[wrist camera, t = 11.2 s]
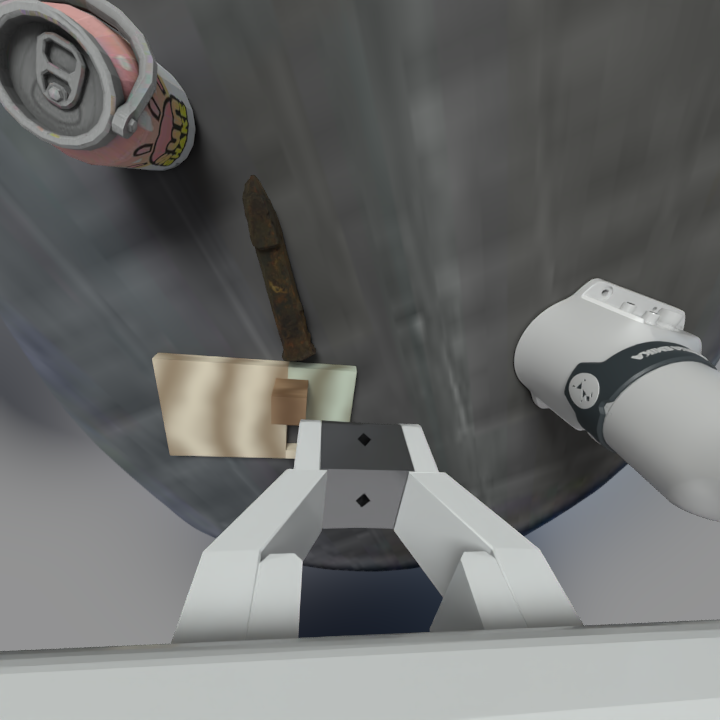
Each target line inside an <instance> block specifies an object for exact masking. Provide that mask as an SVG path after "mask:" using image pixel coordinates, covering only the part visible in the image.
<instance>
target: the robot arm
mask: <svg viewBox="0 0 720 720" xmlns="http://www.w3.org/2000/svg"><path fill="white" fill-rule="evenodd" d="M603 291H604V292H603ZM602 292H603V293H602ZM684 323H685V313H684V311H682V310H680V309H678V308H676V307H673V306H671V305H668V304H666V303H663V302H660V301H658V300H655V299H652V298H650V297H647V296H644V295H642V294H639V293H636V292H634V291H631V290H628V289H626V288H623V287H620V286H618V285H615V284H612V283H610V282H607V281H605V280H602V279H598V278H596V279H592V280H590V281H589V282H587V283H586V284H585V285H584V286H582V287H581V288H580V289H579V290H578V291H577V292H576V293H575V294H574V295H572V296H571V297H569V298H567V299H565V300H563V301H561V302H559V303H556V304H555V305H553V306H551V307H549V308H548V309H546V310H545V311H544V312H542V313H541V314H540V315H539V316H538V317H536V318H535V319H534V320H533V321H532V323H531V324H530V325H529V326H528V327H527V329H526V330H525V331H524V333H523V335H522V336H521V338H520V340H519V342H518V345H517V348H516V351H515V357H514V367H515V371H516V374H517V376H518V378H519V380H520V381H521V382H522V383H523V384H524V385H525V386H526V387H527V388H528V389H529V390H530V392H531V395H532V399H533V401H534V403H535V404H536V405H537V406H538V407H540V408H543V409H545V408H550V409H551V410H552V411H554V412H555V413H556V414H557V415H558V416H560V417H561V418H562V419H563V420H565V421H566V422H567V423H568V424H570V425H571V426H572V427H574V428H575V429H577V430H580V431H582V430H586V431H587V433H588V434H589V435H590V436H591V437H592V438H593V439H594V440H595V441H596V442H598V443H599V444H601V445H602V446H603V447H605V448H606V449H607V450H609V451H611V452H613V453H616V454H618V455H620V456H621V457H622V458H623V459H624V460H625V461H626V462H627V463H628V464H629V465H631V466H632V467H633V468H634V469H635V470H636V471H637V472H638V473H639V474H640V475H642V477H643V478H645V479H646V480H647V481H648V482H649V483H650V484H651V485H652V486H653V487H654V488H655V489H656V490H658V491H659V492H660V493H661V494H662V495H663V496H664V497H665V498H666V499H667V500H669V501H670V502H671V503H672V504H673V505H675V506H677V507H679V508H680V509H682V510H684V511H687V512H689V513H691V514H694V515H697V516H699V517H702V518H706V519H709V520H713V521H718V522H720V371H718V370H717V369H716V367H715V366H714V365H713V364H712V363H710V362H709V361H707V359H706V358H705V357H704V356H702V355H701V350H702V344H701V340H700V339H699V338H698V337H697V336H695V335H692V334H690V333H687V332H685V331H683V328H684ZM326 528H391V529H394V531H395V533H396V534H397V535H398V537H399V538H400V539H401V541H402V542H403V544H404V545H405V546H406V548H407V549H408V550H409V552H410V553H411V554H412V556H413V557H414V558H415V560H416V561H417V563H418V564H419V565H420V567H421V568H422V569H423V571H424V572H425V573H426V575H427V576H428V577H429V579H430V580H431V582H432V583H433V584H434V586H435V587H436V588H437V589H438V591H439V592H440V594H441V595H442V596H443V600H442V602H441V605H440V607H439V609H438V611H437V614H436V616H435V618H434V621H433V623H432V625H431V627H430V632H423V633H401V634H379V635H357V636H335V637H313V638H298V630H299V612H300V596H301V578H302V562H303V560H304V559H305V557H306V555H307V554H308V552H309V551H310V549H311V547H312V546H313V544H314V542H315V541H316V539H317V537H318V536H319V534H320V533H321V530H322V529H326ZM0 720H720V620H699V621H677V622H656V623H634V624H633V623H632V624H611V625H610V624H609V625H585V626H584V625H583V623H582V621H581V620H580V618H579V616H578V615H577V613H576V611H575V610H574V608H573V606H572V604H571V602H570V601H569V599H568V598H567V596H566V594H565V592H564V590H563V589H562V587H561V585H560V584H559V582H558V580H557V578H556V577H555V575H554V573H553V572H552V570H551V568H550V566H549V565H548V563H547V561H546V559H545V558H544V556H543V554H542V553H541V551H540V549H538V548H537V547H536V546H535V545H533V544H532V543H531V542H530V541H529V540H527V539H526V538H525V537H524V536H523V535H521V534H520V533H519V532H518V531H516V530H515V529H514V528H513V527H511V526H510V525H509V524H508V523H507V522H505V521H504V520H503V519H502V518H500V517H499V516H498V515H497V514H495V513H494V512H493V511H492V510H491V509H489V508H488V507H487V506H486V505H484V504H483V503H482V502H481V501H479V500H478V499H477V498H476V497H475V496H473V495H472V494H471V493H470V492H468V491H467V490H466V489H465V488H463V487H462V486H461V485H460V484H459V483H457V482H456V481H455V480H454V479H452V478H451V477H450V476H449V475H448V474H446V473H441V472H439V471H438V468H437V466H436V463H435V461H434V458H433V456H432V453H431V450H430V448H429V445H428V443H427V440H426V438H425V435H424V433H423V430H422V428H421V426H420V425H419V424H399V425H398V424H374V423H356V422H341V421H326V420H322V423H321V420H305V419H301V420H300V423H299V431H298V439H297V447H296V456H295V464H294V469H287V470H286V471H285V472H284V473H283V474H282V475H281V476H280V477H279V478H278V479H277V480H276V481H275V482H274V483H273V484H271V485H270V486H269V487H268V488H267V489H266V490H265V491H264V492H263V493H262V494H261V495H260V496H259V497H258V498H257V499H256V500H255V501H254V502H253V503H252V504H251V505H250V506H249V507H248V508H247V509H246V510H245V511H244V512H243V513H242V514H241V515H240V516H239V517H238V518H237V519H236V520H235V521H234V522H233V523H232V524H231V525H230V526H229V527H228V528H227V529H226V530H225V531H224V532H223V533H222V534H221V535H220V536H219V537H218V538H217V539H216V540H215V541H214V542H213V543H212V544H210V545H209V546H208V547H207V548H206V549H205V550H204V551H203V553H202V556H201V559H200V562H199V565H198V568H197V571H196V573H195V576H194V579H193V582H192V585H191V588H190V590H189V593H188V596H187V599H186V602H185V605H184V608H183V611H182V613H181V616H180V619H179V622H178V625H177V628H176V631H175V633H174V636H173V639H172V642H171V644H153V645H131V646H110V647H109V646H108V647H87V648H86V647H85V648H64V649H41V650H18V651H0Z"/></svg>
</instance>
